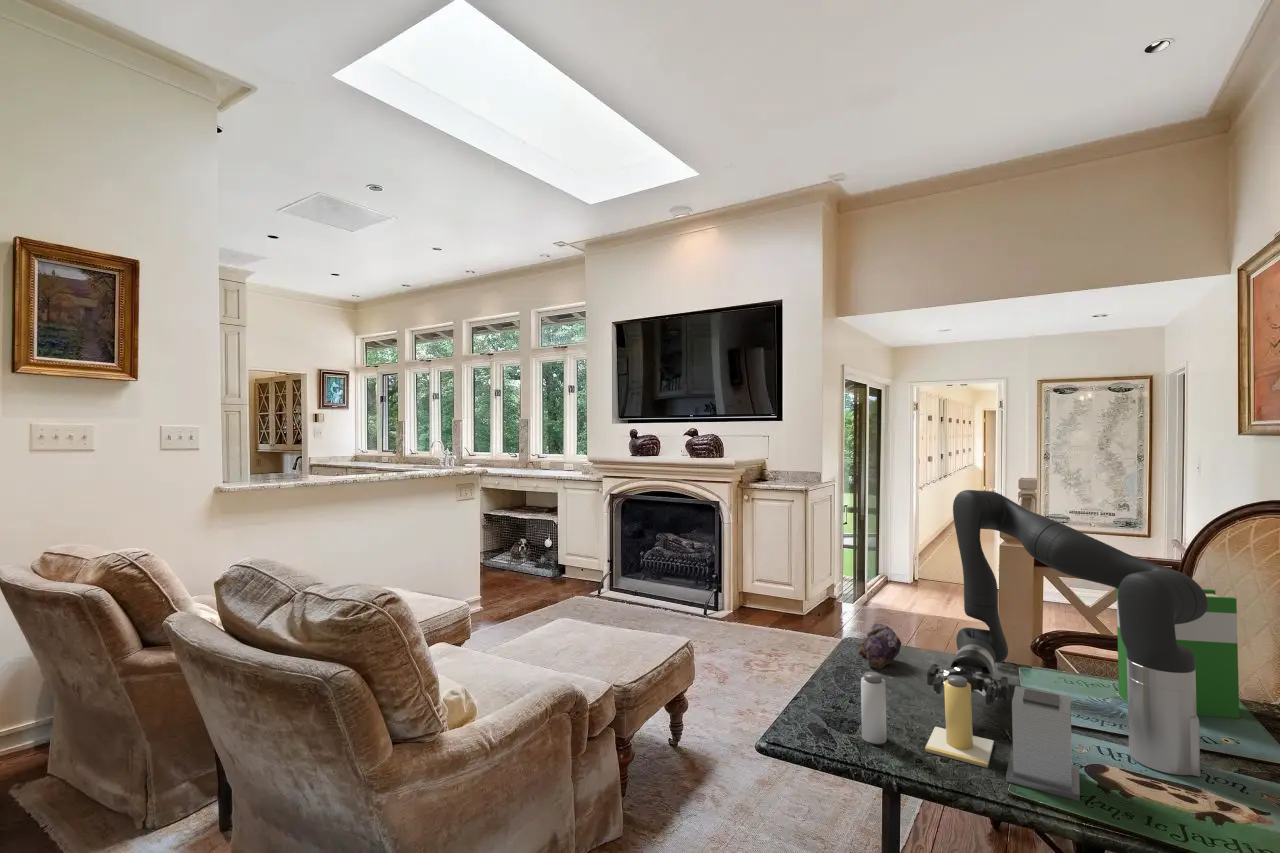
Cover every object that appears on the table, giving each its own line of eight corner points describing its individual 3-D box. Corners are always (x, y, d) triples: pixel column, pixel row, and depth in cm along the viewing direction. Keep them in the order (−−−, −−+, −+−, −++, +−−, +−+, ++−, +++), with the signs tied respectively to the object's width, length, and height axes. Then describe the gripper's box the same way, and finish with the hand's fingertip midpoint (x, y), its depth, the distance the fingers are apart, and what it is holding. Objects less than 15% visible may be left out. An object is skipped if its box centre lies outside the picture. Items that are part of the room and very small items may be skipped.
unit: (1079, 772, 105) (1077, 693, 105) (1079, 801, 97) (1077, 715, 97) (1010, 755, 111) (1009, 680, 111) (1006, 781, 103) (1004, 700, 103)
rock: (861, 673, 153) (905, 675, 150) (860, 640, 152) (904, 642, 149) (857, 649, 164) (898, 651, 161) (856, 619, 163) (897, 620, 160)
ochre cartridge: (974, 742, 114) (972, 676, 115) (971, 752, 111) (968, 685, 111) (948, 735, 117) (946, 672, 117) (944, 745, 113) (942, 679, 114)
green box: (1215, 702, 131) (1212, 589, 131) (1239, 718, 124) (1236, 598, 124) (1118, 694, 135) (1116, 585, 136) (1136, 709, 128) (1133, 593, 128)
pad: (993, 743, 115) (993, 740, 115) (987, 767, 107) (987, 764, 107) (935, 729, 121) (935, 726, 121) (925, 751, 112) (925, 747, 112)
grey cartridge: (889, 736, 118) (887, 673, 118) (883, 746, 115) (882, 681, 115) (865, 730, 121) (864, 669, 121) (859, 739, 117) (857, 676, 117)
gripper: (935, 643, 135) (921, 667, 121) (1011, 655, 127) (1005, 682, 113) (936, 677, 135) (922, 705, 121) (1012, 692, 126) (1006, 723, 113)
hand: (962, 694), depth 117 cm, fingers open, 8 cm apart
